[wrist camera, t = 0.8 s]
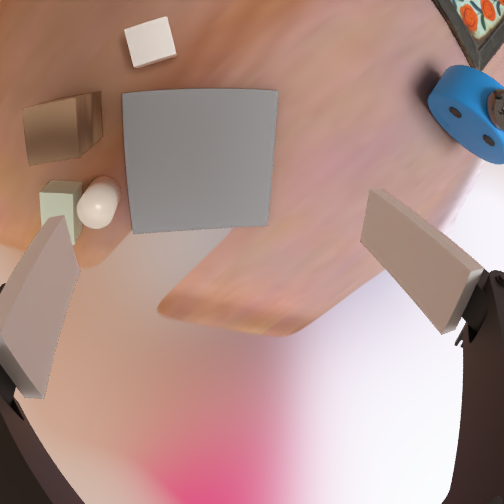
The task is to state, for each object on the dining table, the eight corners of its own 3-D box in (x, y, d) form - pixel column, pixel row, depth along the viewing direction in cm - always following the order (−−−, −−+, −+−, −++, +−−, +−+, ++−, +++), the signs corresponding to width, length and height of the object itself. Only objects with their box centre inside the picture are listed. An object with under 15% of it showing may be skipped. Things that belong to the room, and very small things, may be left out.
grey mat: (123, 93, 28) (122, 93, 27) (275, 90, 31) (278, 90, 30) (134, 230, 36) (133, 234, 35) (265, 221, 39) (267, 225, 39)
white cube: (130, 34, 25) (123, 29, 21) (168, 22, 25) (166, 16, 21) (139, 68, 27) (133, 67, 23) (176, 56, 27) (176, 53, 24)
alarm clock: (470, 119, 37) (545, 151, 25) (452, 147, 39) (527, 186, 27) (428, 58, 31) (517, 74, 19) (407, 89, 33) (497, 113, 21)
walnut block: (58, 98, 26) (22, 108, 18) (101, 91, 27) (75, 97, 19) (61, 142, 28) (28, 165, 21) (103, 136, 29) (79, 157, 22)
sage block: (51, 179, 30) (39, 192, 27) (82, 181, 32) (72, 194, 28) (53, 226, 33) (43, 242, 30) (82, 228, 34) (74, 245, 31)
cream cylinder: (86, 177, 31) (73, 194, 27) (119, 174, 32) (111, 190, 28) (90, 210, 33) (80, 230, 29) (123, 207, 34) (116, 227, 30)
